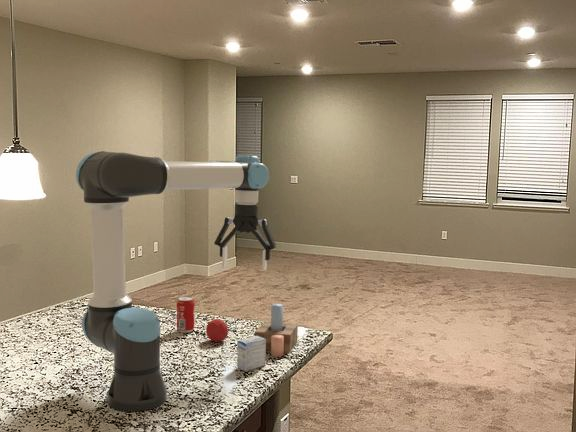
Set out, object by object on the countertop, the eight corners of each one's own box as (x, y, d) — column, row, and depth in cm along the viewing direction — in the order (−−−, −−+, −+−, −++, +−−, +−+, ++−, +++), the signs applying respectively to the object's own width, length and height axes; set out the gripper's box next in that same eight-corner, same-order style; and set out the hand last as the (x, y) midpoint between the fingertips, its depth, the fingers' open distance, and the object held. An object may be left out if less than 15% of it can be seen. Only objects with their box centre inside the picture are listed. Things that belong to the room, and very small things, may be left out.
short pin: (281, 357, 200) (282, 339, 199) (269, 356, 201) (270, 338, 200) (284, 353, 204) (284, 335, 203) (272, 352, 205) (273, 334, 204)
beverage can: (197, 330, 227) (198, 298, 226) (186, 334, 222) (186, 301, 220) (184, 327, 230) (184, 295, 229) (173, 331, 225) (173, 298, 224)
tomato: (208, 319, 210) (225, 311, 216) (198, 329, 215) (214, 320, 221) (221, 339, 208) (237, 330, 214) (210, 349, 214) (226, 340, 219)
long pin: (281, 347, 209) (281, 306, 207) (269, 346, 210) (270, 306, 208) (283, 344, 213) (284, 304, 211) (272, 343, 214) (272, 303, 212)
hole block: (289, 352, 204) (290, 334, 204) (254, 349, 207) (254, 331, 206) (297, 341, 216) (297, 324, 215) (263, 338, 219) (263, 321, 218)
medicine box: (256, 362, 195) (256, 335, 194) (265, 365, 192) (266, 338, 191) (236, 368, 189) (237, 340, 189) (246, 372, 186) (246, 343, 185)
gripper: (286, 204, 202) (284, 269, 204) (213, 200, 208) (212, 263, 210) (281, 206, 195) (278, 273, 197) (205, 202, 201) (204, 267, 203)
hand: (244, 268), depth 204 cm, fingers open, 13 cm apart
